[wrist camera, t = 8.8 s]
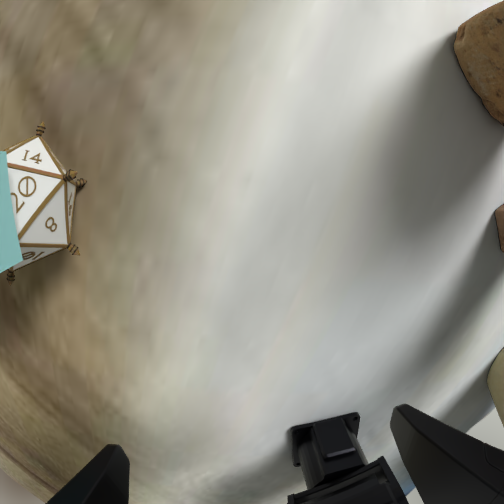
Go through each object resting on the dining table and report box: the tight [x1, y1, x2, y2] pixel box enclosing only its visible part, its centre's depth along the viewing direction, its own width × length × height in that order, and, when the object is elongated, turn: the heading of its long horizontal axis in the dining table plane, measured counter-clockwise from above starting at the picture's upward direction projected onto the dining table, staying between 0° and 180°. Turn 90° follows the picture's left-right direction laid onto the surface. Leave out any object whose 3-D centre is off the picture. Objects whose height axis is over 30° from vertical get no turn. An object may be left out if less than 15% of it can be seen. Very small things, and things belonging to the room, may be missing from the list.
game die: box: [3, 121, 86, 285], centre depth 14 cm, size 9×8×10 cm
